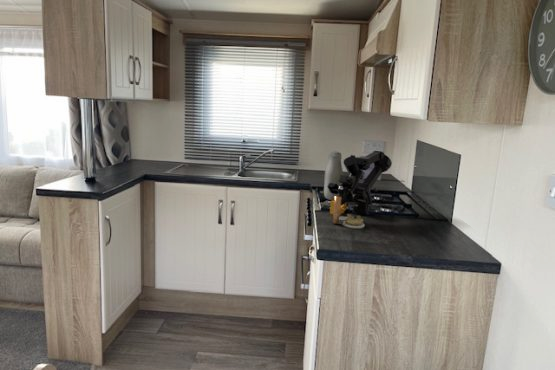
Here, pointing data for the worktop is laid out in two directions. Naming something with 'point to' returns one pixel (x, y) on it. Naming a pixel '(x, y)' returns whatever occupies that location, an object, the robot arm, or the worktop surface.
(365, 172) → the cake pan box
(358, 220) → the bronze dome and bar
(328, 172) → the glass bottle
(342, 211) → the pipe clamp
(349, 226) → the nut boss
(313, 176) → the worktop surface
